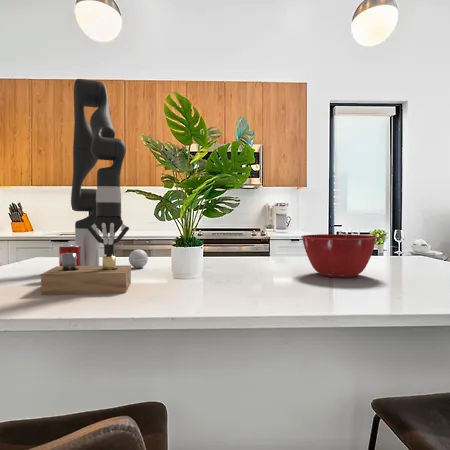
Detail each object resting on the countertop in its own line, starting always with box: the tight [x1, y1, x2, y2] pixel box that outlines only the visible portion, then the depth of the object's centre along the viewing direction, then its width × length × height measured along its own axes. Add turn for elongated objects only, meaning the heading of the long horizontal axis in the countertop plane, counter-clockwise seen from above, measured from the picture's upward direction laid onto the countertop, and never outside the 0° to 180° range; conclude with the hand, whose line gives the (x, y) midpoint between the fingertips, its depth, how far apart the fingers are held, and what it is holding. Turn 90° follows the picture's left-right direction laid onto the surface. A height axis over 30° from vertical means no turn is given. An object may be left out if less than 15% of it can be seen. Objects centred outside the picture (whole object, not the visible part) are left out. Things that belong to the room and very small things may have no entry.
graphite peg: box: [62, 253, 76, 271], centre depth 122 cm, size 4×4×6 cm
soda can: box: [58, 244, 81, 266], centre depth 139 cm, size 7×7×12 cm
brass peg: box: [101, 255, 117, 270], centre depth 124 cm, size 4×4×6 cm
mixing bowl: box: [301, 233, 378, 279], centre depth 152 cm, size 28×28×16 cm
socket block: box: [40, 264, 132, 296], centre depth 123 cm, size 16×24×6 cm, turn 98°
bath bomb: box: [128, 248, 149, 269], centre depth 167 cm, size 8×8×8 cm
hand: (109, 256), depth 124 cm, fingers closed
